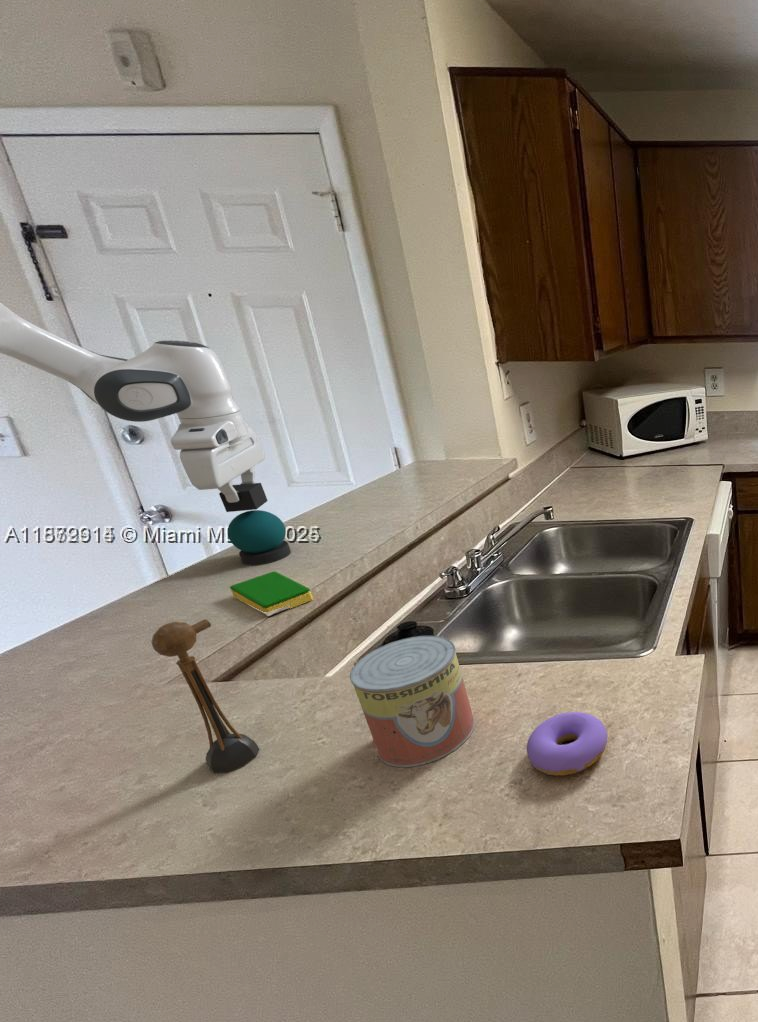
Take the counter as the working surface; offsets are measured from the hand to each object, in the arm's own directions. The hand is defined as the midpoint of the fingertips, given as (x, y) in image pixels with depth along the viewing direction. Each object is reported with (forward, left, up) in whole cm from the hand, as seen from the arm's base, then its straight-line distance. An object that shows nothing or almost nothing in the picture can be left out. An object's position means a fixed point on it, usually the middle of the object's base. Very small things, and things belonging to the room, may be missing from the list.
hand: (242, 495), depth 123 cm
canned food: (+44, -69, -14) cm, 83 cm away
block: (0, 0, -2) cm, 2 cm away
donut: (+62, -78, -14) cm, 101 cm away
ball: (0, 0, -14) cm, 14 cm away
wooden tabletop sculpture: (+22, -66, -14) cm, 71 cm away
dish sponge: (+9, -21, -14) cm, 27 cm away
